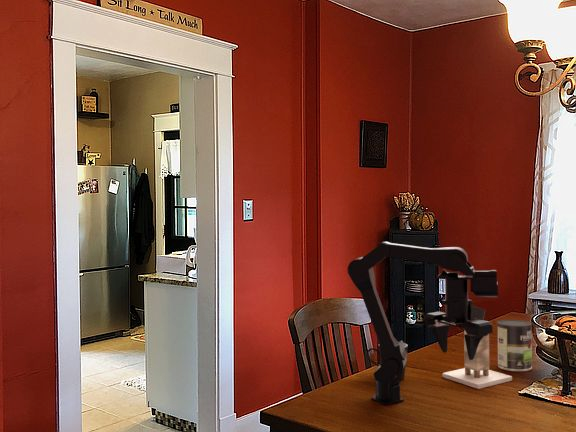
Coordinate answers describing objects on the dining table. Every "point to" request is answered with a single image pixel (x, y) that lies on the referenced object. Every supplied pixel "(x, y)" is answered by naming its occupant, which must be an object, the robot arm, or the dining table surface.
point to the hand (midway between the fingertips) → (457, 356)
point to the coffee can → (514, 345)
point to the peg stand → (477, 377)
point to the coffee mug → (400, 375)
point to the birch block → (478, 355)
